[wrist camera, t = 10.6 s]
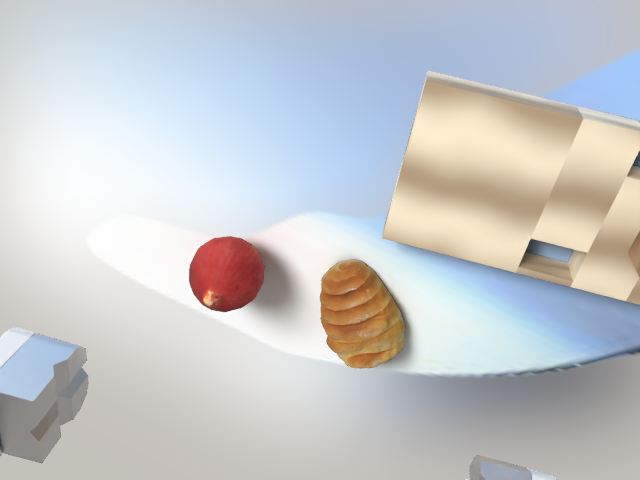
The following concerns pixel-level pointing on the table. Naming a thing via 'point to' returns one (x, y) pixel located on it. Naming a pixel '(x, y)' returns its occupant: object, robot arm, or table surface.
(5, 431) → the robot arm
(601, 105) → the table surface
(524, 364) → the table surface
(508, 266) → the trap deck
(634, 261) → the walnut block
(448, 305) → the table surface
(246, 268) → the onion
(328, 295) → the pastry
